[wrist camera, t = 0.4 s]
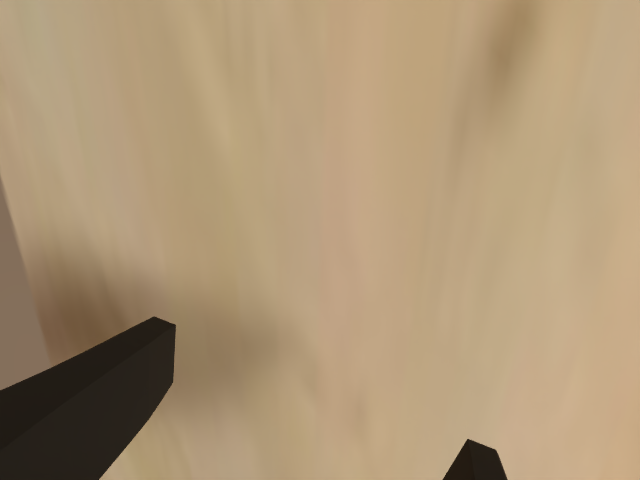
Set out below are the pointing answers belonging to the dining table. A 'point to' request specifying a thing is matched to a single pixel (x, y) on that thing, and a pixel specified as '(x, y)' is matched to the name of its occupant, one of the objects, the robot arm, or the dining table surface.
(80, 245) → the dining table surface
